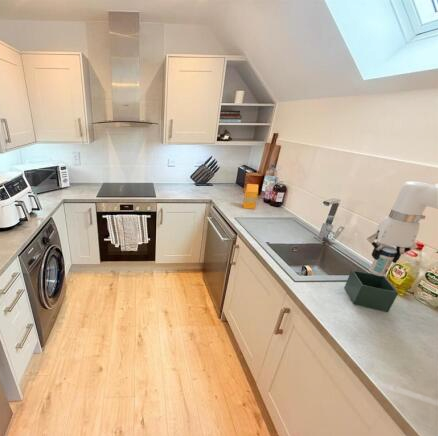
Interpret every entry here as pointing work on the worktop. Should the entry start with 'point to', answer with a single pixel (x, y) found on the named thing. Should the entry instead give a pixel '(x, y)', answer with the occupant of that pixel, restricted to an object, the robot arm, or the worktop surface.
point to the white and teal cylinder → (383, 261)
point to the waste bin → (370, 290)
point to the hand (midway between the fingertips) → (383, 259)
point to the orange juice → (250, 196)
